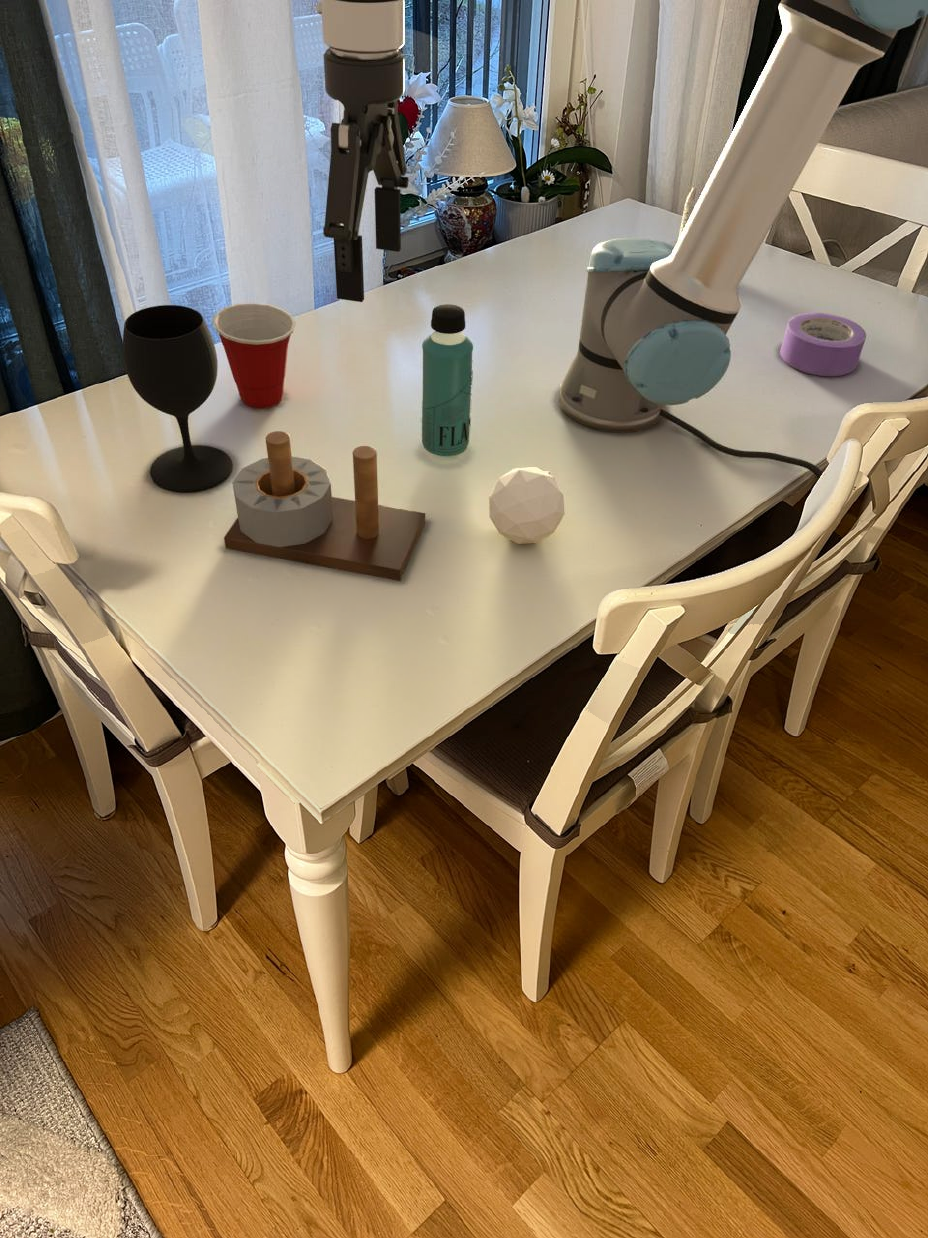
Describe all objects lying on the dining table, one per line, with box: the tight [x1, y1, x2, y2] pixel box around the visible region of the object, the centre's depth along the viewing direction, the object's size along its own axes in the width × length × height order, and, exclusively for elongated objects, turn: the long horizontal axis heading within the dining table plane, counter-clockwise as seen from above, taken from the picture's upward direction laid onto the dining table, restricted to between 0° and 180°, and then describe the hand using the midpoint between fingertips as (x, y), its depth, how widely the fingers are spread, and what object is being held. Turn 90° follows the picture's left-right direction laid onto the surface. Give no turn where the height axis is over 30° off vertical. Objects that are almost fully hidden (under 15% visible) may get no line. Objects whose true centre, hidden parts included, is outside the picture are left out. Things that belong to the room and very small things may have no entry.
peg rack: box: [223, 430, 427, 581], centre depth 107 cm, size 21×11×13 cm, turn 77°
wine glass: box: [122, 304, 234, 494], centre depth 113 cm, size 10×10×20 cm
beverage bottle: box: [420, 303, 474, 457], centre depth 118 cm, size 6×7×20 cm
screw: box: [669, 185, 697, 246], centre depth 171 cm, size 13×5×5 cm
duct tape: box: [231, 455, 333, 547], centre depth 109 cm, size 11×11×5 cm
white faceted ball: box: [488, 466, 566, 545], centre depth 111 cm, size 9×9×12 cm
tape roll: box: [779, 312, 867, 377], centre depth 147 cm, size 12×12×5 cm
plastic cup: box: [212, 302, 297, 410], centre depth 129 cm, size 11×11×12 cm
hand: (370, 273), depth 102 cm, fingers open, 13 cm apart
